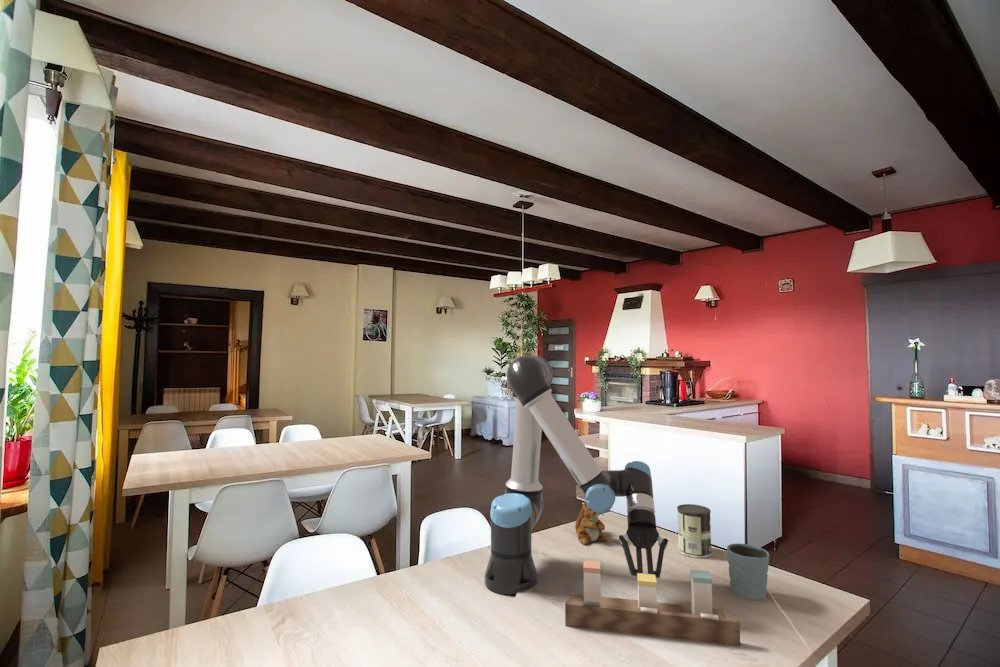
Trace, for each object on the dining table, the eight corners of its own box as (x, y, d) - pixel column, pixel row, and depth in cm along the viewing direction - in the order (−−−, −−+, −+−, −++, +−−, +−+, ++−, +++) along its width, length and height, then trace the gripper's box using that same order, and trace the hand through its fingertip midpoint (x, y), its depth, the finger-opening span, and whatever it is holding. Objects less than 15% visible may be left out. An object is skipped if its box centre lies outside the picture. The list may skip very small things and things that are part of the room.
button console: (565, 630, 113) (565, 602, 114) (570, 597, 129) (569, 572, 129) (740, 650, 105) (739, 620, 106) (722, 612, 121) (722, 586, 121)
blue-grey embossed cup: (719, 590, 133) (718, 545, 133) (747, 584, 136) (746, 540, 137) (750, 608, 123) (749, 560, 124) (779, 601, 127) (778, 554, 128)
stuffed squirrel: (584, 546, 164) (583, 507, 164) (567, 532, 177) (566, 495, 178) (610, 543, 167) (610, 504, 167) (591, 529, 180) (591, 493, 181)
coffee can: (704, 546, 164) (703, 503, 165) (716, 558, 154) (715, 513, 155) (673, 545, 164) (672, 503, 165) (684, 558, 154) (683, 513, 155)
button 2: (694, 621, 115) (693, 577, 115) (691, 612, 119) (690, 569, 120) (713, 623, 114) (712, 578, 115) (709, 613, 118) (708, 571, 119)
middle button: (638, 625, 113) (638, 580, 114) (637, 615, 117) (637, 573, 118) (657, 627, 112) (656, 582, 113) (655, 617, 116) (655, 574, 117)
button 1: (583, 609, 120) (583, 567, 121) (584, 600, 124) (583, 560, 125) (600, 611, 119) (600, 568, 120) (600, 602, 124) (600, 561, 124)
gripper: (664, 522, 136) (674, 613, 119) (616, 519, 139) (620, 608, 122) (666, 509, 131) (677, 602, 114) (617, 506, 134) (620, 597, 117)
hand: (647, 605), depth 118 cm, fingers closed
